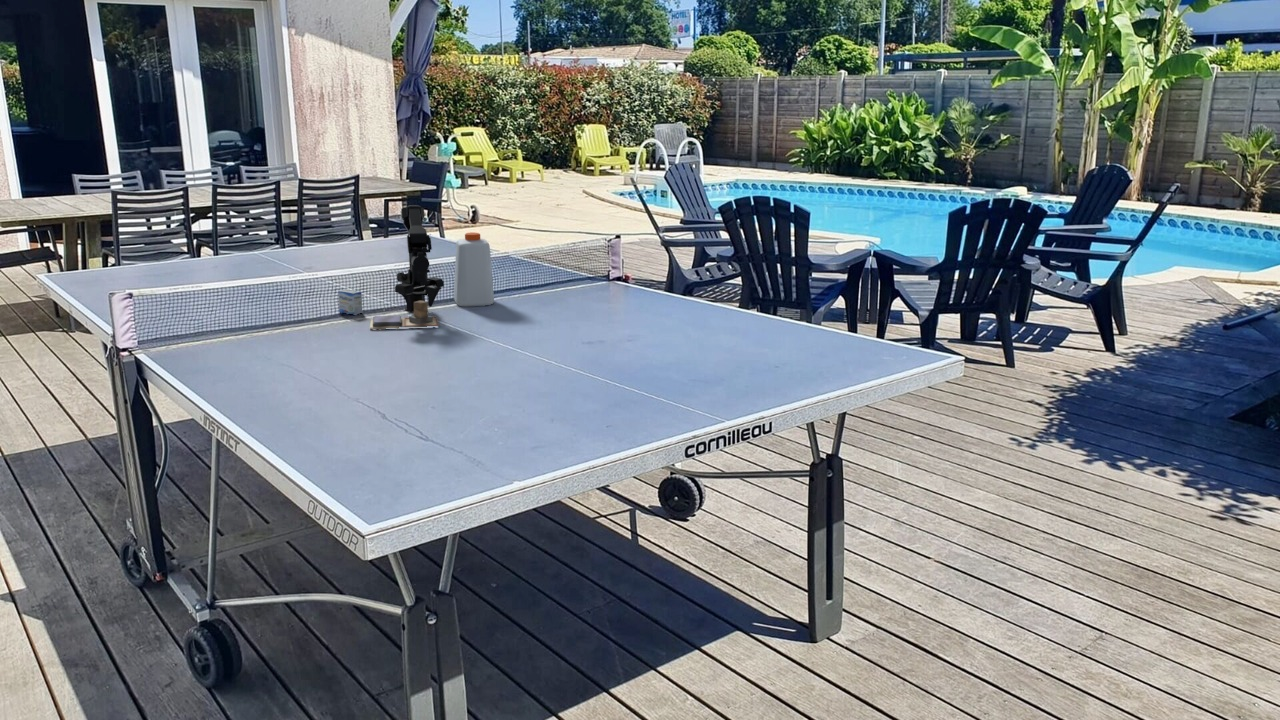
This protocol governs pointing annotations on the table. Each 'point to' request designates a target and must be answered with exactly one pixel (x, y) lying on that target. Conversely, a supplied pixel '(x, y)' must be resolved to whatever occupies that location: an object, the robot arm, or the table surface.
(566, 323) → the table surface
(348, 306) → the medicine box
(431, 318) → the stamp
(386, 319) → the board
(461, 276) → the plastic bottle
